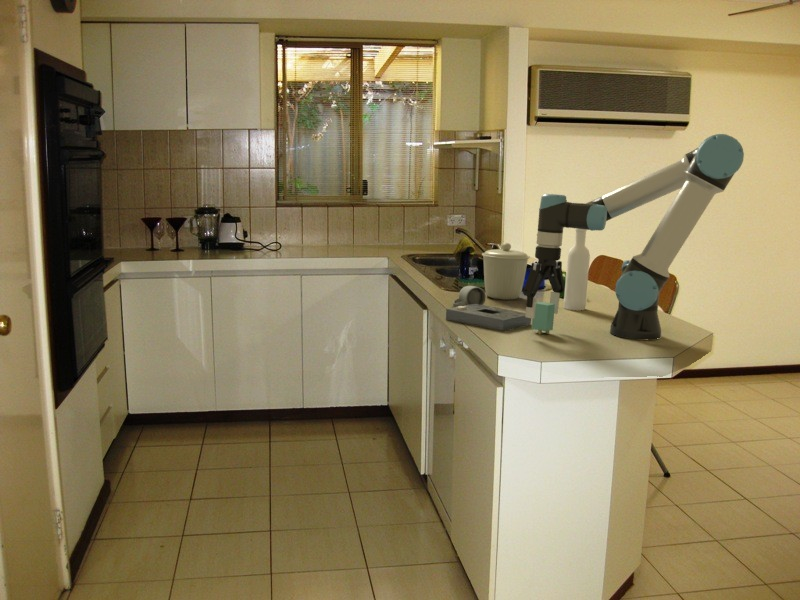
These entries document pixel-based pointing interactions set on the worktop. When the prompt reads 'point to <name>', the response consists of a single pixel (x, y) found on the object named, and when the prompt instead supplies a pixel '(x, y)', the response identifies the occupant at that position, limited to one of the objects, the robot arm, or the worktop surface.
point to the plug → (543, 317)
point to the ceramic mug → (470, 296)
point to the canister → (504, 272)
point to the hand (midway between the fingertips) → (541, 315)
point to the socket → (488, 317)
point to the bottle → (577, 273)
